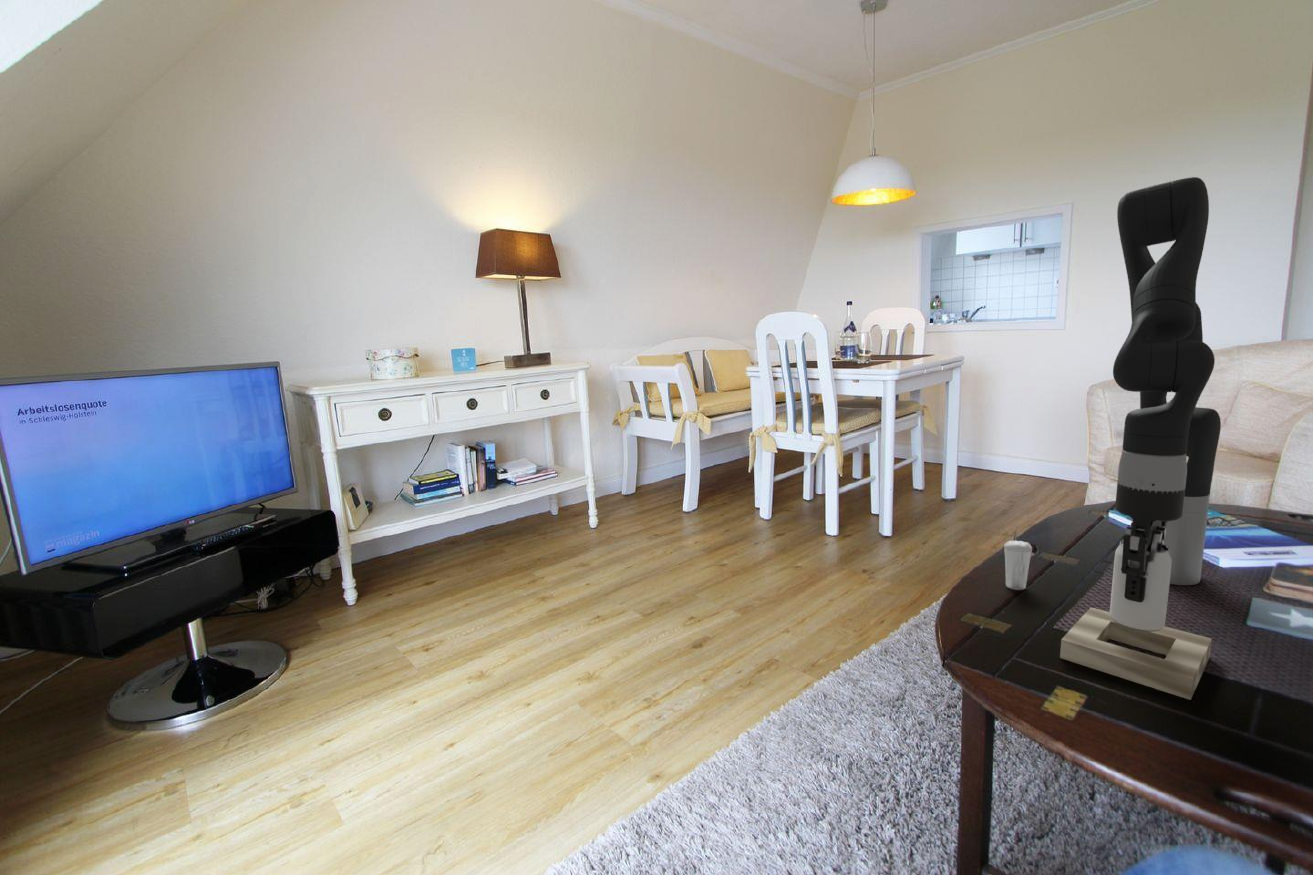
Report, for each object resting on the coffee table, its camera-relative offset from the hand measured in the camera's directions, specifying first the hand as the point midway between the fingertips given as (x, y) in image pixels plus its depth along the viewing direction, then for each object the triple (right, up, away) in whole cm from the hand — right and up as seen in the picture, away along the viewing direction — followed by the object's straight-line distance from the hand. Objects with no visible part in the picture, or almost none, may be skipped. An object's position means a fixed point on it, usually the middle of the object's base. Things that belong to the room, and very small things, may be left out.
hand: (1140, 592), depth 89 cm
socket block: (0, -10, +2) cm, 10 cm away
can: (0, -5, +1) cm, 5 cm away
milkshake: (-2, -6, +28) cm, 28 cm away
